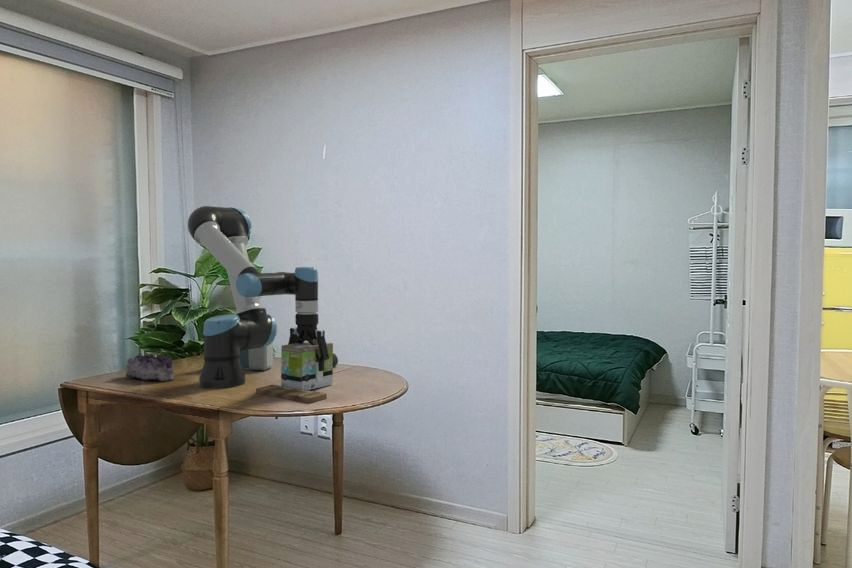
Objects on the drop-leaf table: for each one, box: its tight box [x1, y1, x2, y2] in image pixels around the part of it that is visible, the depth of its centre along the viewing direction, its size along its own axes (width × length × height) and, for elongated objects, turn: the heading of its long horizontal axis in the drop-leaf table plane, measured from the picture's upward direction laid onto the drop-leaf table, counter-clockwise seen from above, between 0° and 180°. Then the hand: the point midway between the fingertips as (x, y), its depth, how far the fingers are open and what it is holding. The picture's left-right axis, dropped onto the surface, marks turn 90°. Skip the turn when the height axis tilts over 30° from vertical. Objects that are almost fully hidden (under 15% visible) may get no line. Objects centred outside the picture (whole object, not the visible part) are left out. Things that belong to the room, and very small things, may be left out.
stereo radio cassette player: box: [240, 341, 274, 372], centre depth 232 cm, size 21×8×20 cm, turn 77°
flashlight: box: [333, 352, 339, 368], centre depth 231 cm, size 15×5×5 cm, turn 148°
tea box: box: [280, 341, 334, 391], centre depth 200 cm, size 15×10×15 cm, turn 147°
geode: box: [125, 353, 175, 383], centre depth 214 cm, size 20×12×10 cm, turn 65°
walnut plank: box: [255, 384, 328, 404], centre depth 187 cm, size 24×7×2 cm, turn 57°
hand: (307, 378), depth 200 cm, fingers closed on tea box, 10 cm apart
